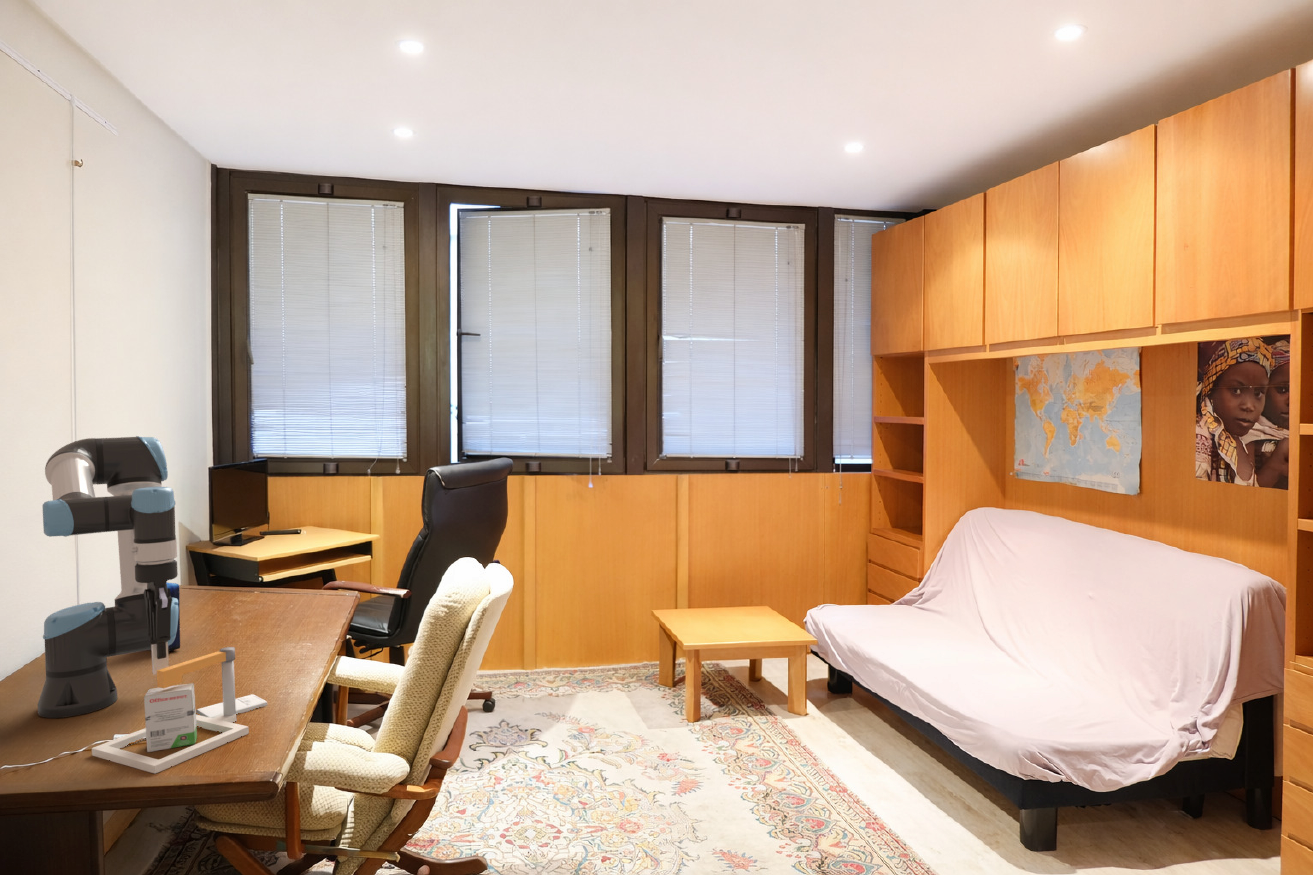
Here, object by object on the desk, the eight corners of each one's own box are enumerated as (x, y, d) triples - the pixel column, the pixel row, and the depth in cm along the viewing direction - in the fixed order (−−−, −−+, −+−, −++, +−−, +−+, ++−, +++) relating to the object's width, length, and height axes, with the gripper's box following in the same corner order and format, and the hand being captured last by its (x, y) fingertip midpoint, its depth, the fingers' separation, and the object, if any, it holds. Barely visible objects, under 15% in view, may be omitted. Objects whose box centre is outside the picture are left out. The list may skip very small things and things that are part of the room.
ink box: (198, 735, 167) (195, 681, 167) (195, 744, 163) (192, 688, 162) (150, 743, 164) (148, 687, 164) (146, 752, 159) (143, 695, 159)
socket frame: (92, 755, 159) (89, 689, 158) (205, 712, 181) (202, 654, 180) (155, 773, 150) (152, 703, 150) (265, 725, 172) (263, 664, 172)
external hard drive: (196, 715, 180) (252, 699, 190) (210, 724, 175) (267, 707, 184) (195, 708, 180) (252, 692, 189) (210, 717, 175) (267, 700, 184)
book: (136, 648, 230) (133, 580, 230) (154, 643, 235) (152, 577, 234) (165, 655, 224) (162, 585, 223) (184, 650, 228) (181, 581, 228)
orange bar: (155, 686, 162) (155, 668, 162) (229, 662, 177) (228, 646, 177) (165, 688, 161) (164, 670, 160) (238, 664, 175) (237, 647, 175)
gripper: (128, 559, 167) (133, 669, 168) (142, 567, 158) (147, 684, 159) (168, 554, 172) (173, 661, 173) (184, 562, 163) (189, 675, 164)
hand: (160, 672), depth 166 cm, fingers closed
